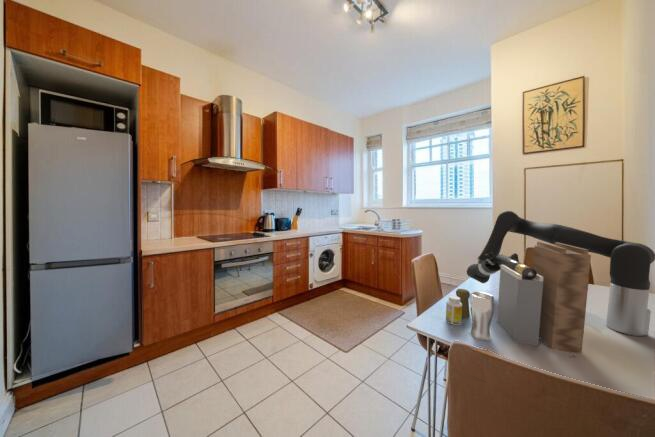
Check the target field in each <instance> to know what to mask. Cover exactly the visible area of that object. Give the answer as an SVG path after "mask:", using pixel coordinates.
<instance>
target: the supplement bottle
mask: <svg viewBox="0 0 655 437" xmlns="http://www.w3.org/2000/svg"><path fill="white" fill-rule="evenodd" d="M445 303H446V306H445V307H446V308H445V321H446V322H447V323H448V324H450V325H453V326H461V324H462V319H463V318H462V303H461V302H460V298H459V297H457V295H449V296H448V300H446V302H445Z"/></svg>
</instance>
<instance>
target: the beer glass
mask: <svg viewBox="0 0 655 437" xmlns="http://www.w3.org/2000/svg"><path fill="white" fill-rule="evenodd" d="M494 298H495V297H494V295H492V294H490V293H487V292H484V291H483V292H482V291H473V292H472V293H471V298H470V317H471V321H472V323H471V324H472V325H471V330H470V336H472V337H473V338H475V339H477V340H481V341H489V340H491V333H490V332H491V330H490V329H491V324H492V319H493V317H494V312H495V299H494Z"/></svg>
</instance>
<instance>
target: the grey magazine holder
mask: <svg viewBox="0 0 655 437" xmlns="http://www.w3.org/2000/svg"><path fill="white" fill-rule="evenodd" d="M542 290H543V276H541V275H539V274H537V276H536V277H535V278H534V279H531V280H528V279H526V278H524V277H522V275H521V274H519V273H517V272H516V271H514V270H512V269H510V268H508V267H507V266H505V265H501V268H500V270H499V288H498V298H497V299H498V302H497V313H496V314H497V317H496V323H497V324H498V325H499V326H500V328H501V329H502V330H503V331H504V332H505V333H506V334H507V335H508V337H509V338H510V339H511V341H513V342H514V343H521V344H529V345H536V346H539V340H540V338H539V328H540V315H541V302H542Z"/></svg>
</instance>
